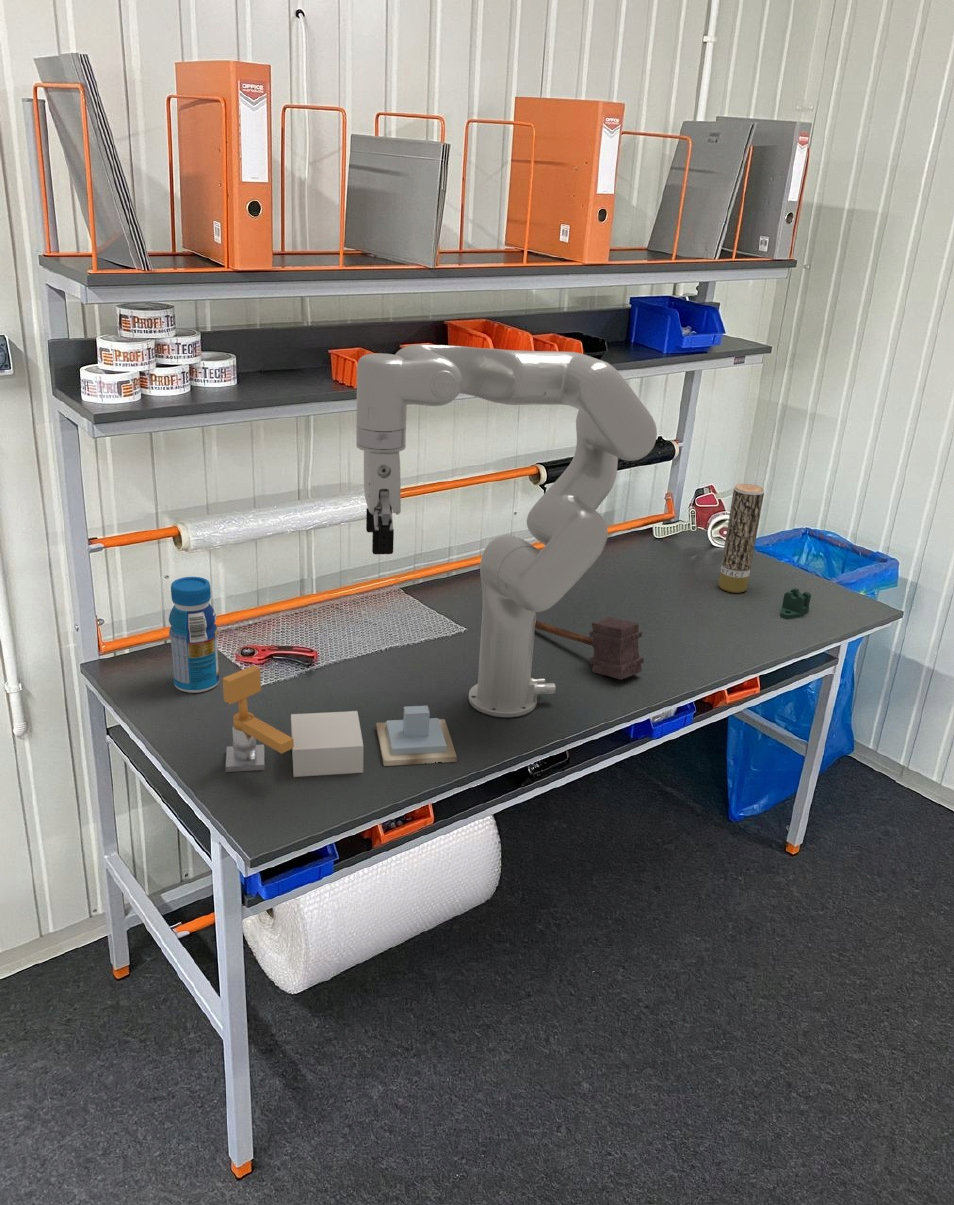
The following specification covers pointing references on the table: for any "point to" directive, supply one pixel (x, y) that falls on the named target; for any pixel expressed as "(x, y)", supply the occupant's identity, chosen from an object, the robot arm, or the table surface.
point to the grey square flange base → (244, 753)
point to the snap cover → (415, 733)
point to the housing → (326, 743)
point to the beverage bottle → (193, 636)
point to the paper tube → (741, 537)
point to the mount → (795, 604)
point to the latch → (239, 690)
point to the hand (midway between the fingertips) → (379, 542)
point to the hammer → (608, 646)
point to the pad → (414, 758)
